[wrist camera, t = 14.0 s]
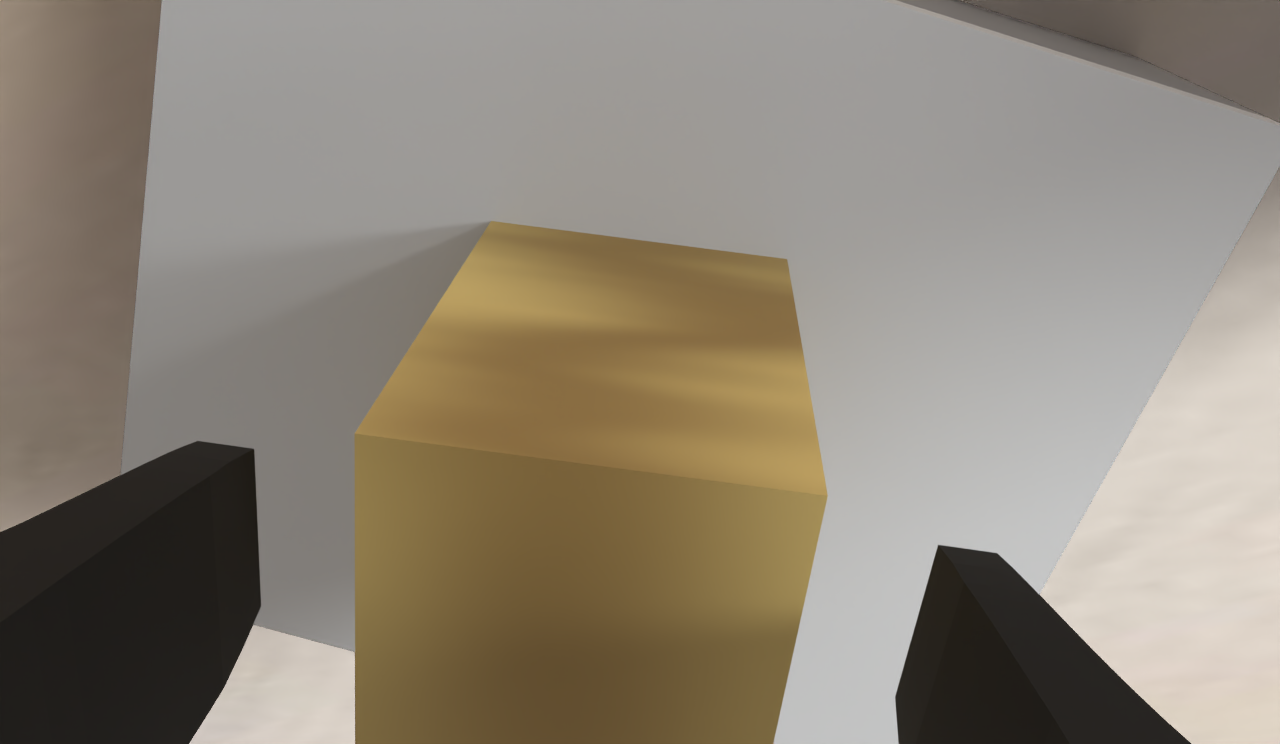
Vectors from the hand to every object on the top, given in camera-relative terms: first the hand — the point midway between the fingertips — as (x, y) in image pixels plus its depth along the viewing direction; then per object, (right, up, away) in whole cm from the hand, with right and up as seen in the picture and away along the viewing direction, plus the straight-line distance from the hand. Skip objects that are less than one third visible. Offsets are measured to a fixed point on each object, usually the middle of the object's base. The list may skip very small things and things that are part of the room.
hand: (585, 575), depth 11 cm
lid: (0, +2, +5) cm, 5 cm away
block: (0, +2, +4) cm, 5 cm away
